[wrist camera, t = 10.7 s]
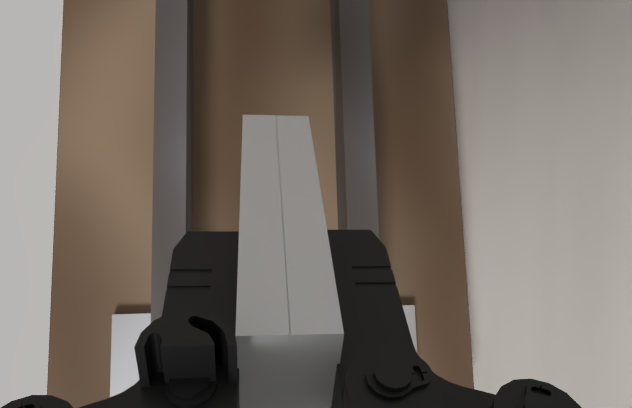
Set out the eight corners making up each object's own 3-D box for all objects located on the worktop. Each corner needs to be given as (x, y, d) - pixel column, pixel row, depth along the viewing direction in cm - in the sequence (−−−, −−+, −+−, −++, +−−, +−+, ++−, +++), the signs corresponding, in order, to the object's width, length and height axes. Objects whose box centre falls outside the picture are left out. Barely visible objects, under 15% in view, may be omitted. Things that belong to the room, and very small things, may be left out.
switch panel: (419, -221, 26) (445, -301, 22) (459, 400, 21) (499, 419, 18) (86, -244, 24) (58, -335, 21) (60, 420, 20) (21, 444, 16)
